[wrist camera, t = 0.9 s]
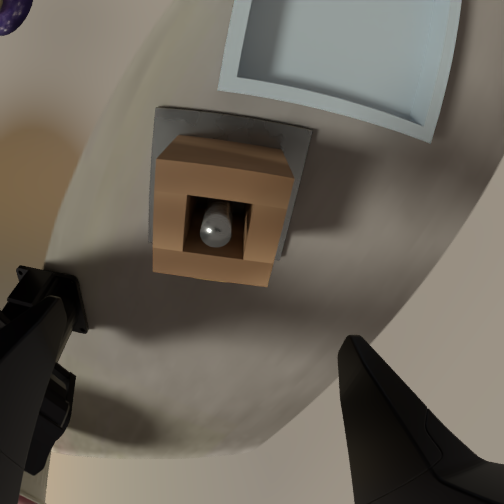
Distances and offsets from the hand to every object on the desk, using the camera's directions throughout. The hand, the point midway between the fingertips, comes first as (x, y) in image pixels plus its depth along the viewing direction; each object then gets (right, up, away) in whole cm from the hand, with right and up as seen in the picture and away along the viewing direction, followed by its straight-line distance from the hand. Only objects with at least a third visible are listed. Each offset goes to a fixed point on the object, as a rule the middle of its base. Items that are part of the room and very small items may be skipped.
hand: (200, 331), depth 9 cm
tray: (+7, +16, +4) cm, 18 cm away
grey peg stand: (0, +6, +10) cm, 12 cm away
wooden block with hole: (0, +5, +10) cm, 12 cm away
